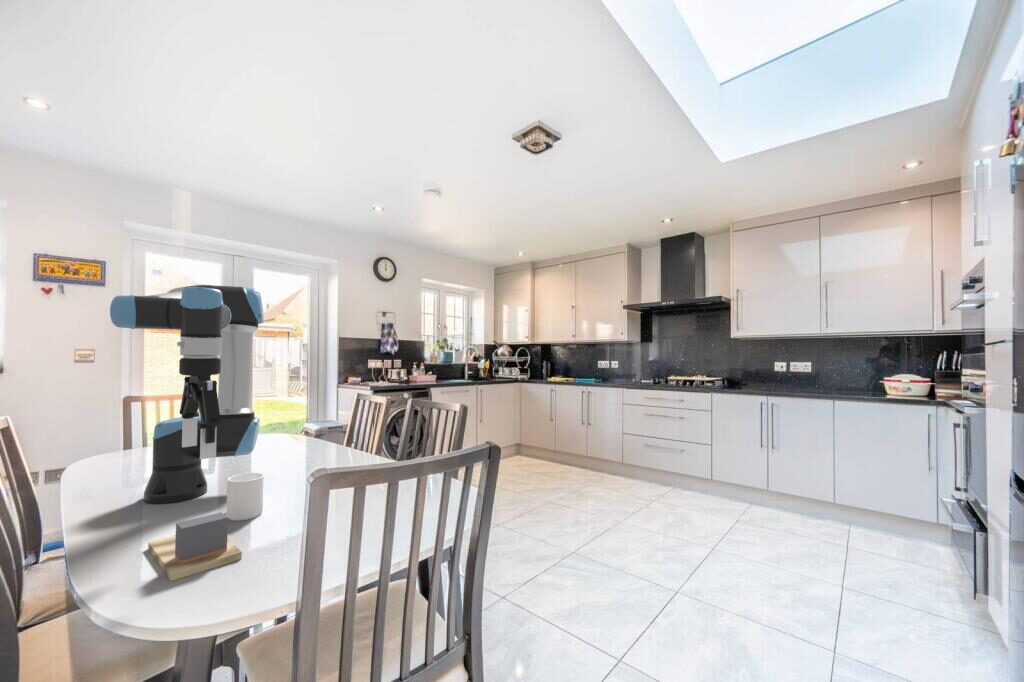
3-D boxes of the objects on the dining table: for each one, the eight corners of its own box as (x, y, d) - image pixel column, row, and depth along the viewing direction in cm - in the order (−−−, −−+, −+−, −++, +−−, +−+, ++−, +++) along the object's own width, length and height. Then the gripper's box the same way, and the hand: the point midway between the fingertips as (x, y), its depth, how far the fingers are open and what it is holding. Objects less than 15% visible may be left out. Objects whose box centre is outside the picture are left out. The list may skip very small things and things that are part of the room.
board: (148, 548, 95) (148, 541, 95) (212, 532, 104) (212, 525, 104) (170, 581, 82) (171, 573, 82) (241, 558, 91) (241, 551, 91)
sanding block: (174, 557, 89) (176, 522, 89) (220, 544, 95) (221, 512, 95) (180, 564, 86) (181, 528, 86) (226, 550, 92) (227, 517, 92)
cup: (233, 523, 109) (235, 483, 110) (215, 512, 117) (217, 474, 117) (268, 514, 116) (269, 476, 116) (249, 504, 123) (250, 468, 123)
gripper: (165, 354, 101) (162, 444, 101) (197, 360, 85) (194, 467, 85) (203, 354, 107) (200, 439, 107) (240, 359, 91) (237, 459, 91)
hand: (198, 451), depth 96 cm, fingers open, 13 cm apart
